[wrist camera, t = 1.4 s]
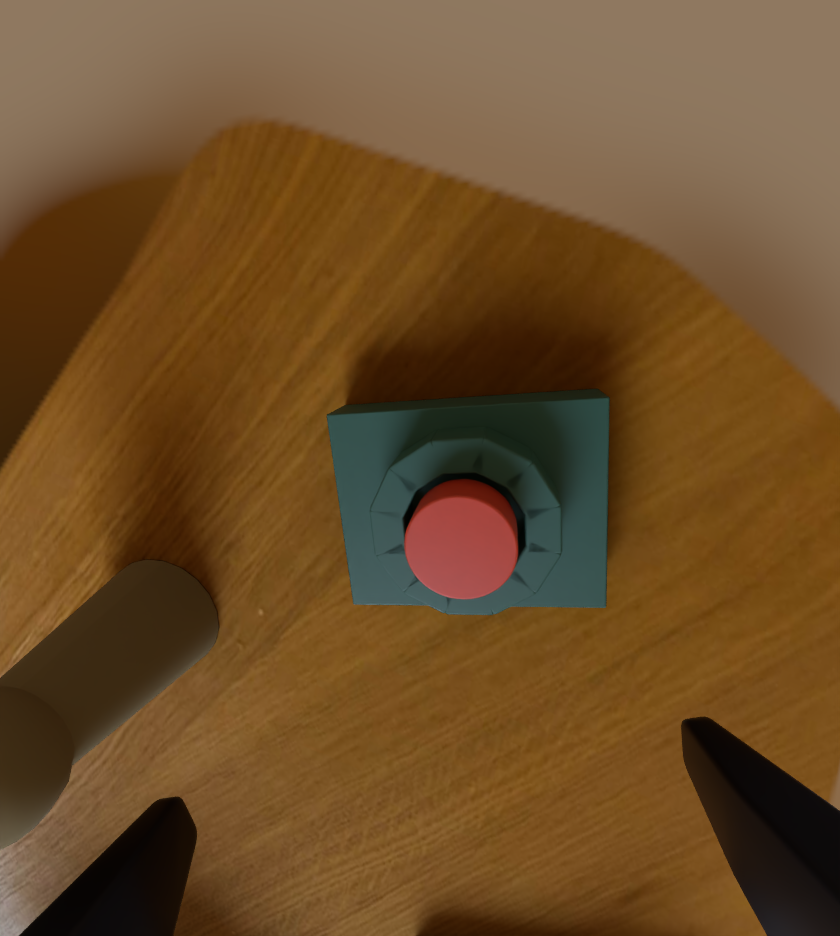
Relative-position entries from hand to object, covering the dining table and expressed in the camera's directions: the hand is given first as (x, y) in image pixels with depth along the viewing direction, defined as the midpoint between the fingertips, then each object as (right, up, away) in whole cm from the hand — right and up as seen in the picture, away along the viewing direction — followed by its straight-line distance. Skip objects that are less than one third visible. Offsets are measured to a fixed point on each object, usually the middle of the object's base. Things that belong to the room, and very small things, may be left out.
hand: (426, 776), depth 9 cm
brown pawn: (-13, -2, +17) cm, 21 cm away
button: (+1, +3, +8) cm, 9 cm away
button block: (+2, +4, +12) cm, 13 cm away
